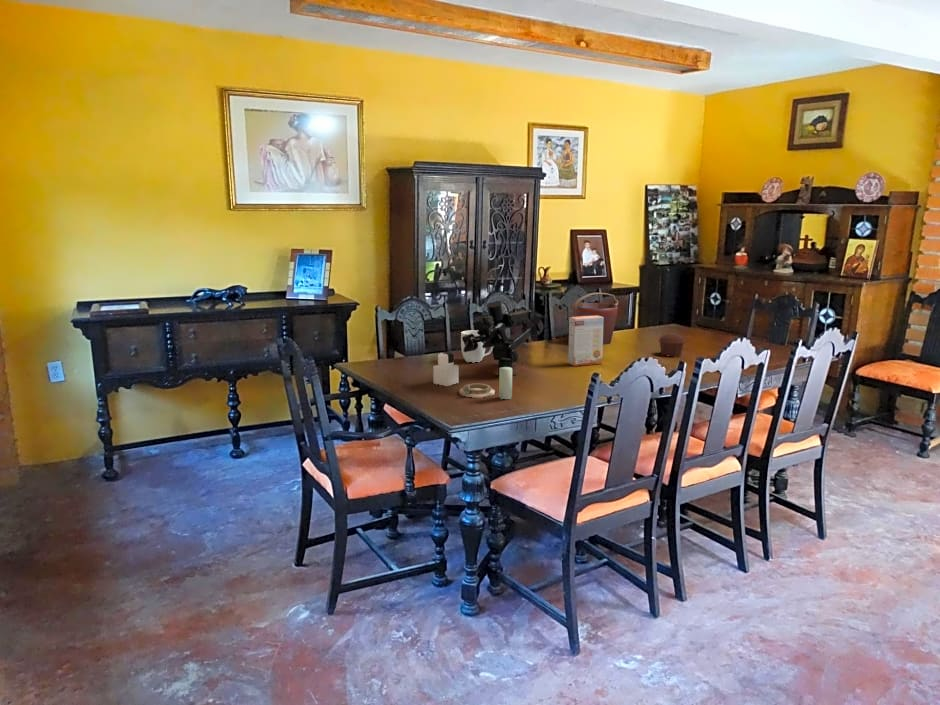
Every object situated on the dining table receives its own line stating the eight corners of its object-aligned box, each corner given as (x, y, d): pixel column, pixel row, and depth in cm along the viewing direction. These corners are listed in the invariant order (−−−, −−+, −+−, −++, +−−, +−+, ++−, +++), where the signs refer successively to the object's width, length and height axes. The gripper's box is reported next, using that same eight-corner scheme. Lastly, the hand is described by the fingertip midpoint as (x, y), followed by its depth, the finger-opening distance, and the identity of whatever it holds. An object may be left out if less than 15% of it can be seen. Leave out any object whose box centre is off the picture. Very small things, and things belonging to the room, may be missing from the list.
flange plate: (473, 386, 261) (473, 376, 260) (501, 392, 253) (501, 381, 252) (452, 394, 250) (452, 383, 250) (480, 400, 243) (480, 389, 242)
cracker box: (595, 361, 304) (597, 314, 299) (602, 364, 298) (604, 316, 294) (567, 363, 299) (568, 316, 295) (573, 366, 294) (575, 318, 289)
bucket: (613, 337, 357) (615, 290, 352) (625, 346, 336) (627, 295, 331) (567, 338, 356) (568, 290, 351) (576, 346, 334) (577, 296, 329)
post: (503, 395, 249) (504, 366, 246) (514, 397, 246) (514, 368, 244) (496, 398, 245) (496, 368, 243) (507, 400, 242) (507, 370, 240)
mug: (488, 357, 311) (488, 329, 308) (497, 362, 301) (497, 333, 298) (457, 359, 306) (457, 331, 303) (465, 364, 296) (465, 335, 293)
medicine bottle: (445, 380, 270) (445, 350, 268) (459, 383, 266) (458, 353, 263) (433, 383, 265) (432, 353, 262) (446, 386, 261) (446, 356, 258)
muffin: (686, 353, 319) (687, 332, 317) (681, 358, 309) (683, 336, 307) (660, 351, 324) (661, 330, 322) (655, 355, 315) (656, 334, 313)
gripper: (467, 317, 270) (446, 334, 258) (504, 307, 258) (484, 325, 246) (478, 341, 273) (458, 360, 261) (516, 333, 261) (496, 352, 249)
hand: (473, 349), depth 255 cm, fingers open, 9 cm apart
